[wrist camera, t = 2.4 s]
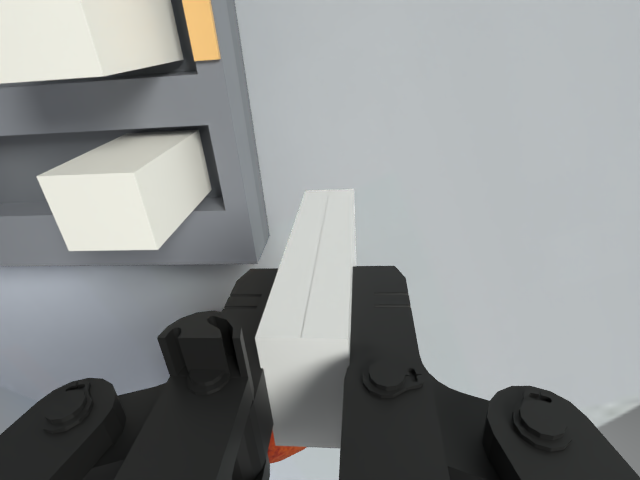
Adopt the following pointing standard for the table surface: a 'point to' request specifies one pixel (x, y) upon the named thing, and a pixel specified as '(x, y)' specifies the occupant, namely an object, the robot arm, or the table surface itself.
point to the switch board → (139, 117)
